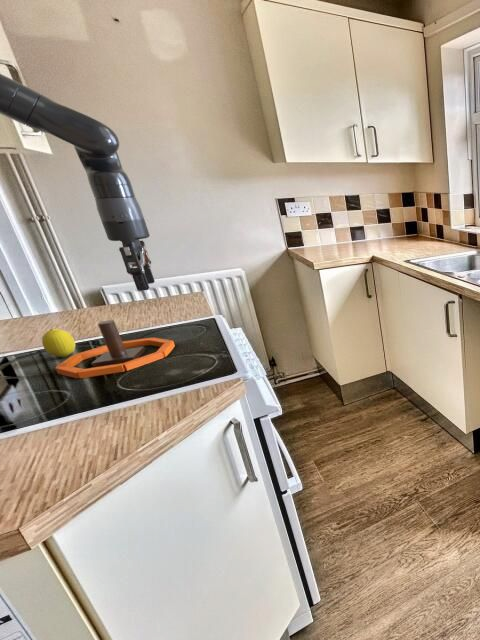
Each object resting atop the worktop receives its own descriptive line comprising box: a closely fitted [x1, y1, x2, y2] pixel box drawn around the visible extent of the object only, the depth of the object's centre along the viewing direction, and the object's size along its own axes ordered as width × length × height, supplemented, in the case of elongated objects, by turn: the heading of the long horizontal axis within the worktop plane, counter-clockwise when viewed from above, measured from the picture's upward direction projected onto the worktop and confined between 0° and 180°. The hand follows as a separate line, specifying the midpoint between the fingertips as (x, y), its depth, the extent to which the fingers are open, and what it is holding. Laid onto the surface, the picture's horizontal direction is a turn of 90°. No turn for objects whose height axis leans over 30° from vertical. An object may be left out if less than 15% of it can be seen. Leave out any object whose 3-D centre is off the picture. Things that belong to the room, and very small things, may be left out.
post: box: [90, 319, 146, 368], centre depth 104 cm, size 8×8×10 cm
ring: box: [54, 337, 176, 379], centre depth 105 cm, size 21×21×2 cm
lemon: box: [41, 328, 76, 359], centre depth 106 cm, size 6×6×8 cm
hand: (146, 286), depth 103 cm, fingers open, 8 cm apart
